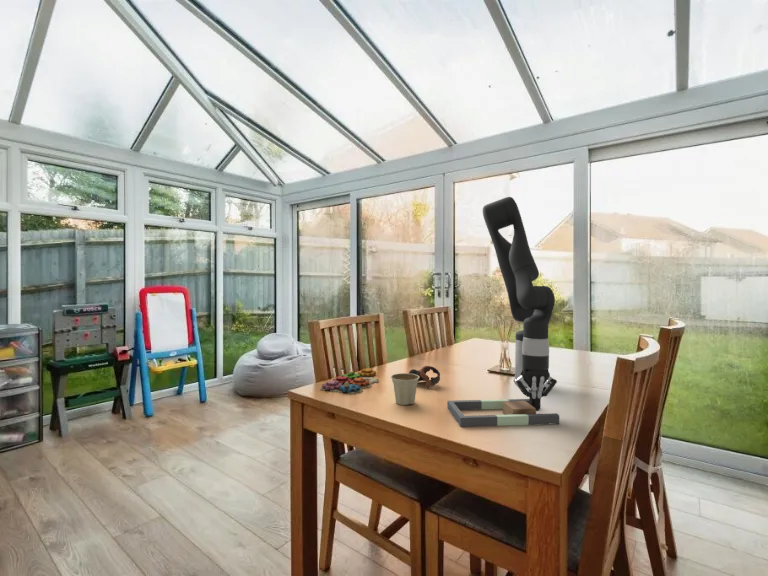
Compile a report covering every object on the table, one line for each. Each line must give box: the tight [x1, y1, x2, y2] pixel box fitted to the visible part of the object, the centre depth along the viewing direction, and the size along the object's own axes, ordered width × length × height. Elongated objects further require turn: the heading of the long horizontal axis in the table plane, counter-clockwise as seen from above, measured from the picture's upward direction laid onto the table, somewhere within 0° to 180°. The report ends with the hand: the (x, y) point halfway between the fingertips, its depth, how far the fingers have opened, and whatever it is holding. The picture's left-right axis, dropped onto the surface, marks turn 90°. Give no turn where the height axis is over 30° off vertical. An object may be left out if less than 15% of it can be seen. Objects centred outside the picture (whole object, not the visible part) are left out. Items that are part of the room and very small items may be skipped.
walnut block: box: [502, 401, 537, 415], centre depth 117 cm, size 7×7×4 cm
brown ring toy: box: [408, 365, 441, 389], centre depth 151 cm, size 12×10×8 cm
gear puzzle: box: [319, 368, 380, 395], centre depth 155 cm, size 31×16×4 cm, turn 157°
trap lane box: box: [446, 398, 560, 428], centre depth 118 cm, size 28×15×2 cm, turn 95°
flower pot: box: [390, 372, 419, 406], centre depth 131 cm, size 9×9×9 cm
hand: (534, 410), depth 119 cm, fingers closed
